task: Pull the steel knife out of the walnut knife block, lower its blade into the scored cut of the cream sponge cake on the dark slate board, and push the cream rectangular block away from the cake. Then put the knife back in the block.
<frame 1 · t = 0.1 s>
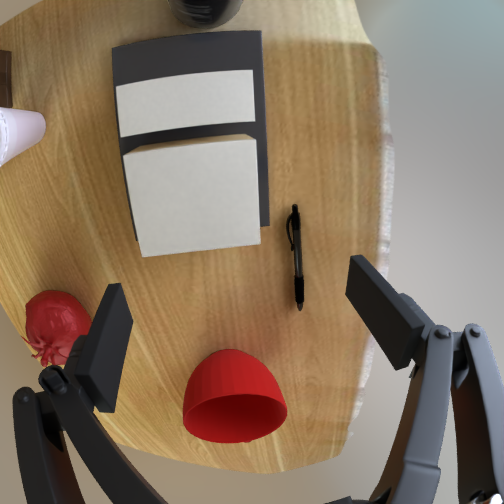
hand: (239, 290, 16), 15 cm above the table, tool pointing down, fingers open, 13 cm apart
ceramic cup: (230, 371, 42), on the table
cream rectangular block: (188, 103, 24), point 1 cm above the table, touching cake board
supplement bottle: (205, 1, 20), on the table
cake board: (191, 133, 26), on the table
pen: (294, 260, 34), on the table
pomegranate: (65, 310, 33), on the table
cake: (196, 180, 28), resting on cake board
smoothie: (33, 128, 22), on the table
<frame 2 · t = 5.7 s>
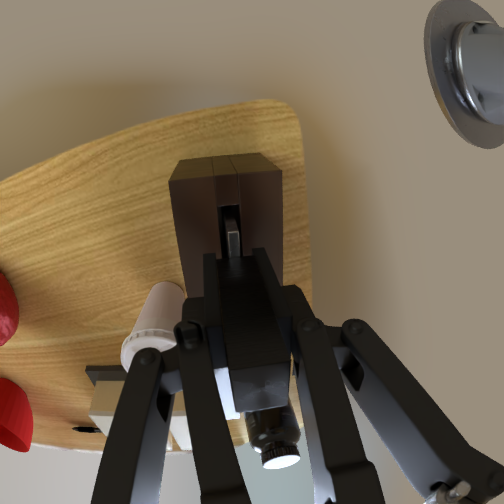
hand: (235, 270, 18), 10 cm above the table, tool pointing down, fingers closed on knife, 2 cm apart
ceramic cup: (6, 388, 34), on the table
cream rectangular block: (187, 399, 37), point 1 cm above the table, touching cake board
supplement bottle: (263, 391, 40), on the table
cake board: (166, 395, 38), on the table
pen: (102, 426, 41), on the table
knife: (225, 218, 26), point 1 cm above the table, touching gripper, knife block
cake: (136, 395, 37), resting on cake board
knife block: (224, 214, 27), on the table
smoothie: (167, 295, 30), on the table
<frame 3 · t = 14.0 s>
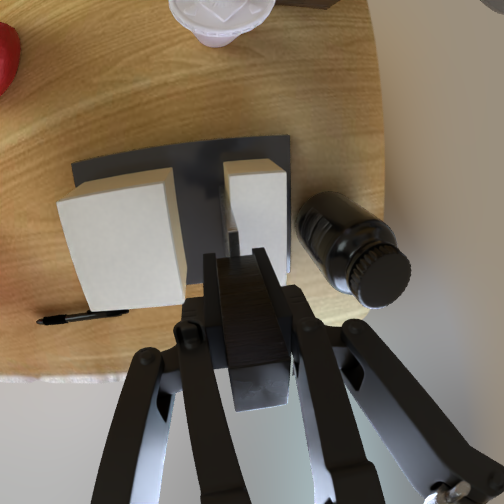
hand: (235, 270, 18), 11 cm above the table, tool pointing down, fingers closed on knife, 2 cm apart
cream rectangular block: (249, 213, 27), point 1 cm above the table, touching cake board
supplement bottle: (324, 220, 30), on the table
cake board: (184, 216, 27), on the table
pen: (78, 311, 30), on the table
knife: (224, 218, 26), point 2 cm above the table, touching gripper
cake: (137, 222, 27), resting on cake board
smoothie: (216, 30, 20), on the table
when the fingers open (10 cm above the table, at t = 22.2 s): knife stays where it is, resting on knife block.
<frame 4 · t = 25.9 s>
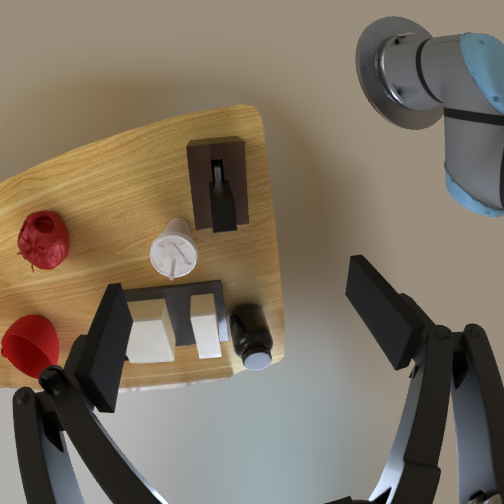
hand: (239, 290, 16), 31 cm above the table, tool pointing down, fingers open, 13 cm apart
ceramic cup: (37, 327, 51), on the table
cream rectangular block: (205, 316, 54), point 1 cm above the table, touching cake board
supplement bottle: (246, 315, 56), on the table
cake board: (172, 316, 54), on the table
knife: (216, 175, 42), point 1 cm above the table, touching knife block
pomegranate: (52, 231, 43), on the table
cake: (149, 318, 53), resting on cake board
knife block: (216, 173, 43), on the table
smoothie: (178, 228, 46), on the table
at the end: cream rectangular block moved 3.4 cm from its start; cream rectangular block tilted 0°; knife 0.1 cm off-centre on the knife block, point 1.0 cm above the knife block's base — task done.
